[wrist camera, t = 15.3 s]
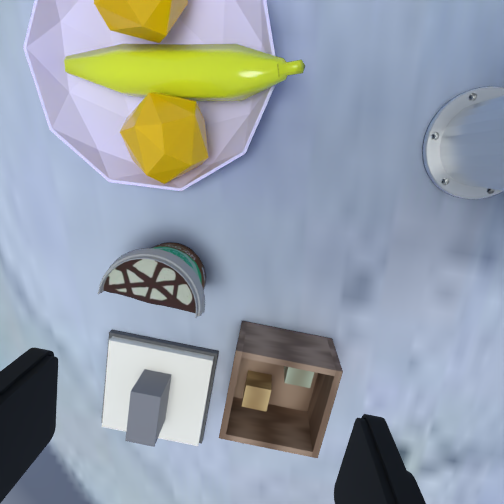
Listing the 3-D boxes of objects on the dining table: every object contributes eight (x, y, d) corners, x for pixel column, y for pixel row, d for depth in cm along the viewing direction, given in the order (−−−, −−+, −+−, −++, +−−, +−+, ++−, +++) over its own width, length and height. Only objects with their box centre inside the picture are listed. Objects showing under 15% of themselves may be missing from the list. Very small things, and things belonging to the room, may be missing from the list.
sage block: (313, 351, 49) (316, 365, 46) (307, 372, 50) (310, 388, 47) (288, 346, 49) (290, 360, 46) (283, 368, 50) (284, 383, 47)
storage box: (332, 338, 49) (342, 371, 42) (311, 414, 53) (317, 458, 45) (241, 320, 49) (235, 350, 42) (227, 397, 53) (218, 438, 45)
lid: (214, 356, 50) (206, 382, 44) (199, 440, 54) (190, 474, 48) (112, 336, 50) (90, 359, 45) (105, 421, 54) (84, 453, 48)
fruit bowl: (36, 136, 45) (-41, 128, 34) (101, -104, 38) (30, -211, 27) (234, 228, 46) (222, 249, 35) (332, 14, 39) (354, -42, 28)
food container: (224, 246, 47) (211, 268, 37) (215, 287, 48) (200, 319, 39) (135, 224, 47) (99, 240, 37) (129, 266, 48) (93, 293, 39)
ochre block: (271, 374, 51) (271, 390, 47) (266, 395, 52) (266, 411, 48) (248, 370, 51) (246, 385, 47) (243, 390, 52) (241, 406, 48)
